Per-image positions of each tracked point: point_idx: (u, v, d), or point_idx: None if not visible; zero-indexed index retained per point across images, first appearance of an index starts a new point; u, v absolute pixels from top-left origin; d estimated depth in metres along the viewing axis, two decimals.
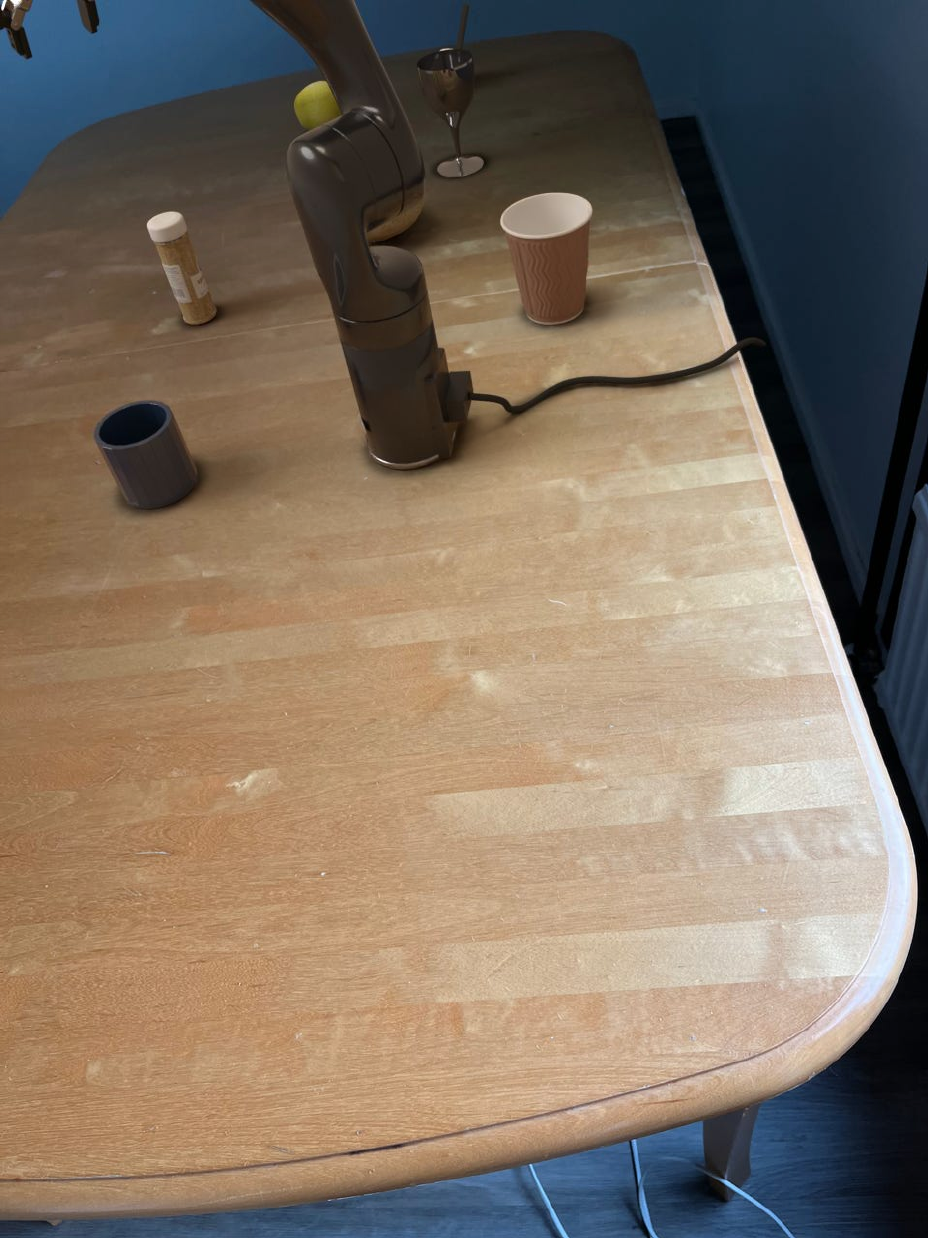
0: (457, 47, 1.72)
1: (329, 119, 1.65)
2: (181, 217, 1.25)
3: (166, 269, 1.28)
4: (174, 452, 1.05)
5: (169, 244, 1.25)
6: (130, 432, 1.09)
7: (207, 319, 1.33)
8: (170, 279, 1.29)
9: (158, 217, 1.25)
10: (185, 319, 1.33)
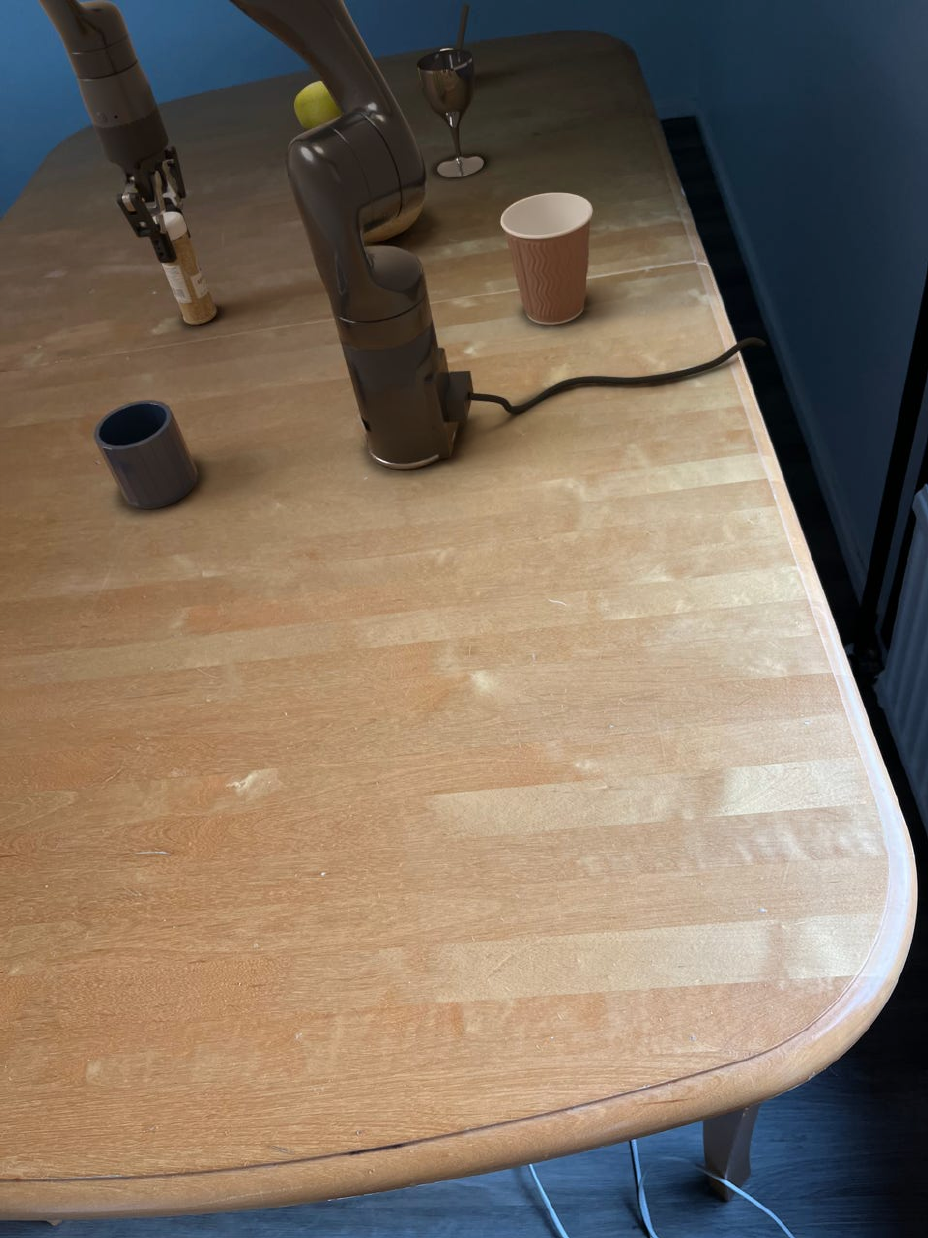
0: (457, 47, 1.72)
1: (329, 119, 1.65)
2: (181, 217, 1.25)
3: (166, 269, 1.28)
4: (174, 452, 1.05)
5: None
6: (130, 432, 1.09)
7: (207, 319, 1.33)
8: (170, 279, 1.29)
9: None
10: (185, 319, 1.33)
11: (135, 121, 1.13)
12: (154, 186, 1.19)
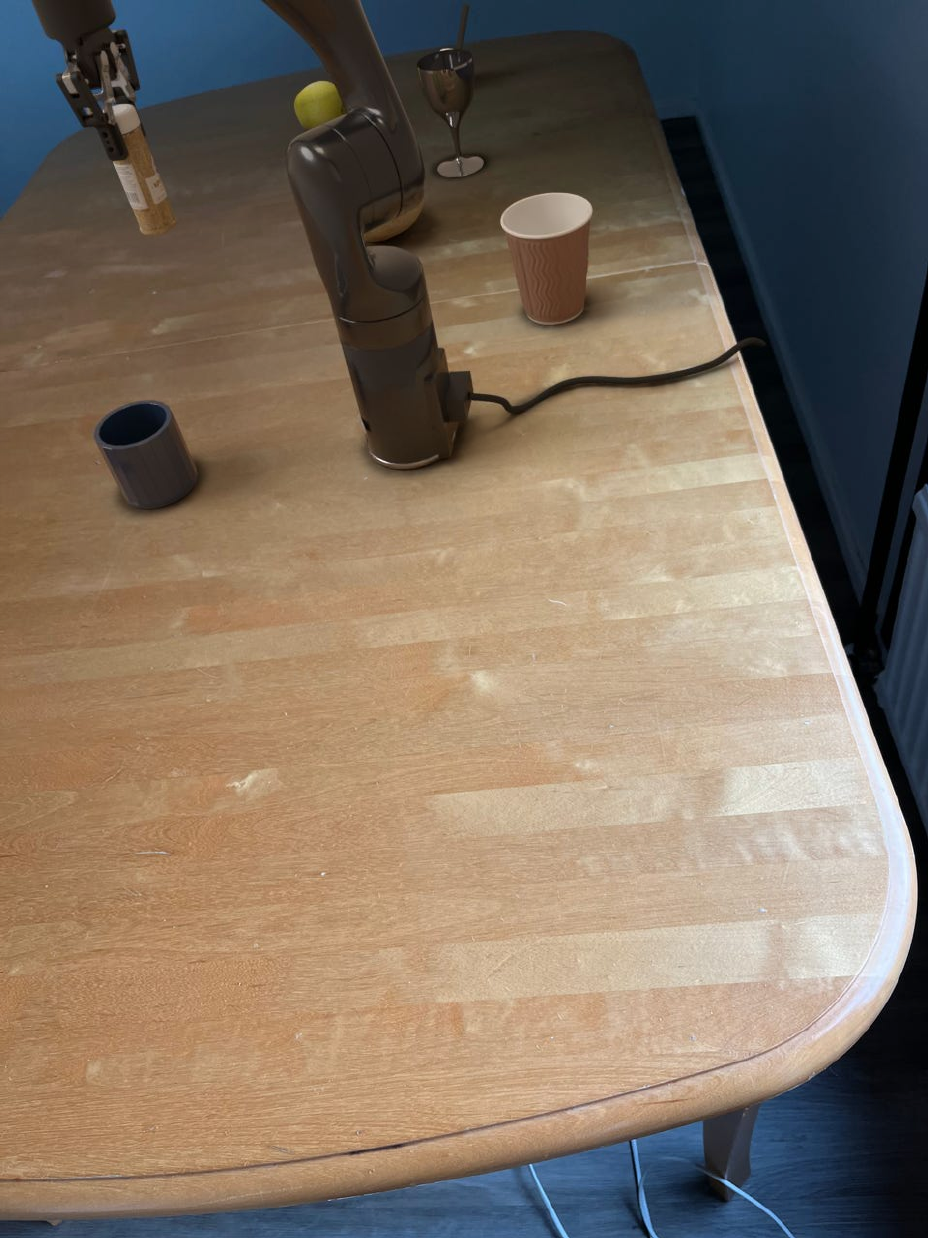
0: (457, 47, 1.72)
1: (329, 119, 1.65)
2: (133, 108, 1.12)
3: (118, 169, 1.15)
4: (174, 452, 1.05)
5: None
6: (130, 432, 1.09)
7: (166, 229, 1.20)
8: (123, 181, 1.16)
9: None
10: (142, 229, 1.20)
11: None
12: (100, 68, 1.06)
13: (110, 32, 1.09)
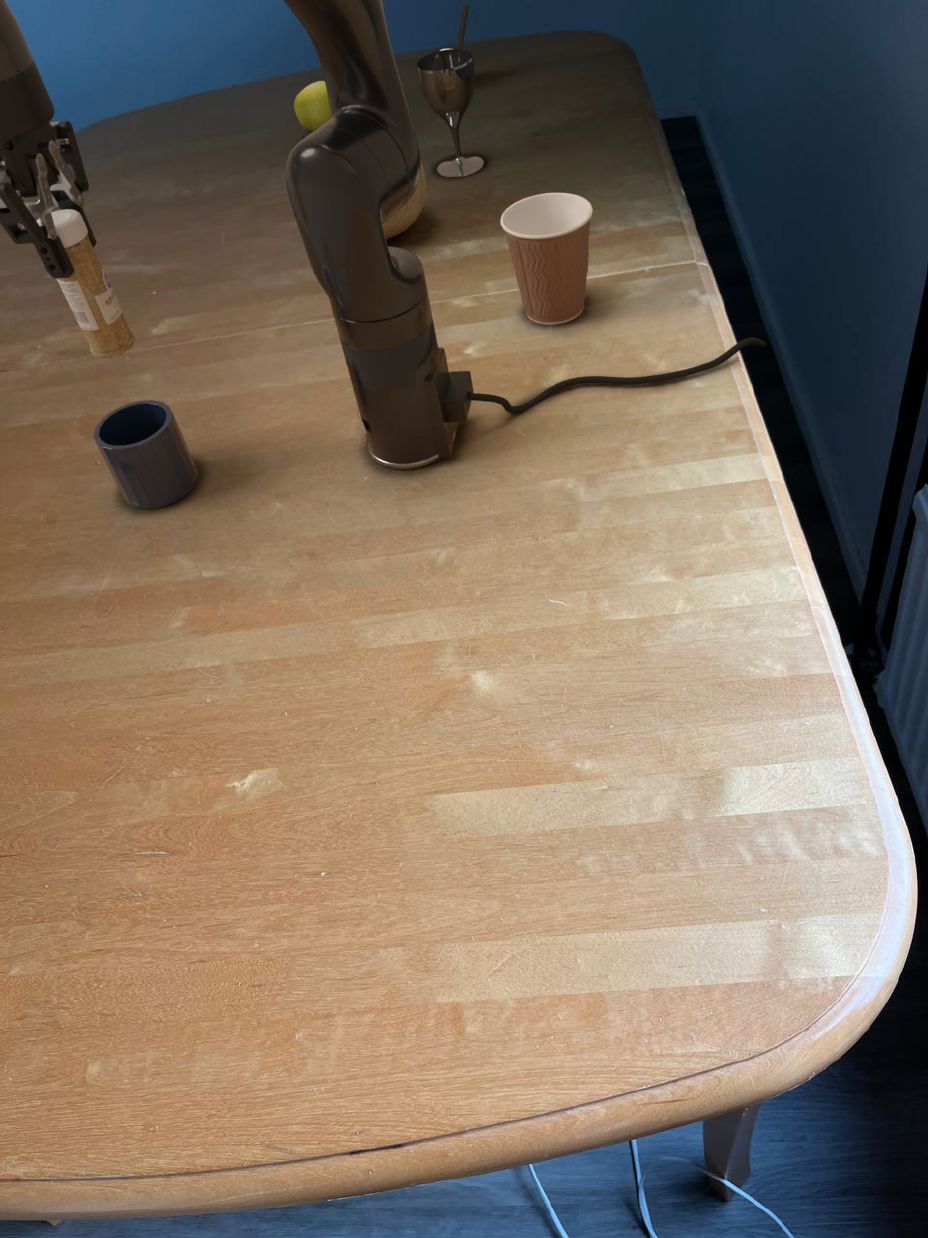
0: (457, 47, 1.72)
1: (329, 119, 1.65)
2: (78, 217, 0.93)
3: (62, 286, 0.96)
4: (174, 452, 1.05)
5: None
6: (130, 432, 1.09)
7: (121, 351, 1.01)
8: (68, 299, 0.97)
9: None
10: (92, 351, 1.01)
11: (0, 83, 0.81)
12: (36, 174, 0.87)
13: (49, 127, 0.90)
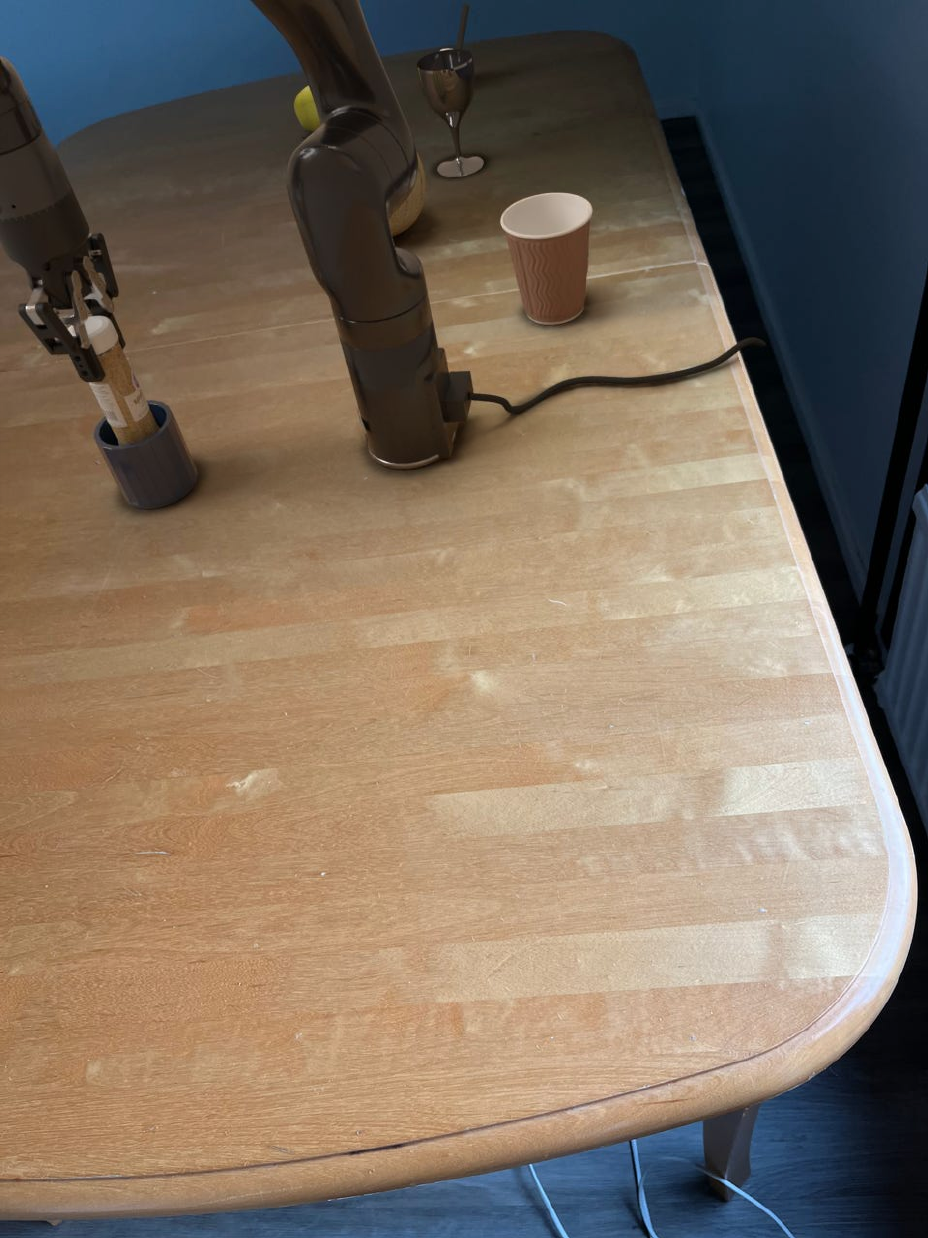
0: (457, 47, 1.72)
1: None
2: (109, 325, 0.97)
3: (92, 388, 1.00)
4: (174, 452, 1.05)
5: None
6: None
7: None
8: (98, 399, 1.01)
9: None
10: (120, 445, 1.05)
11: (40, 211, 0.85)
12: (71, 290, 0.91)
13: None
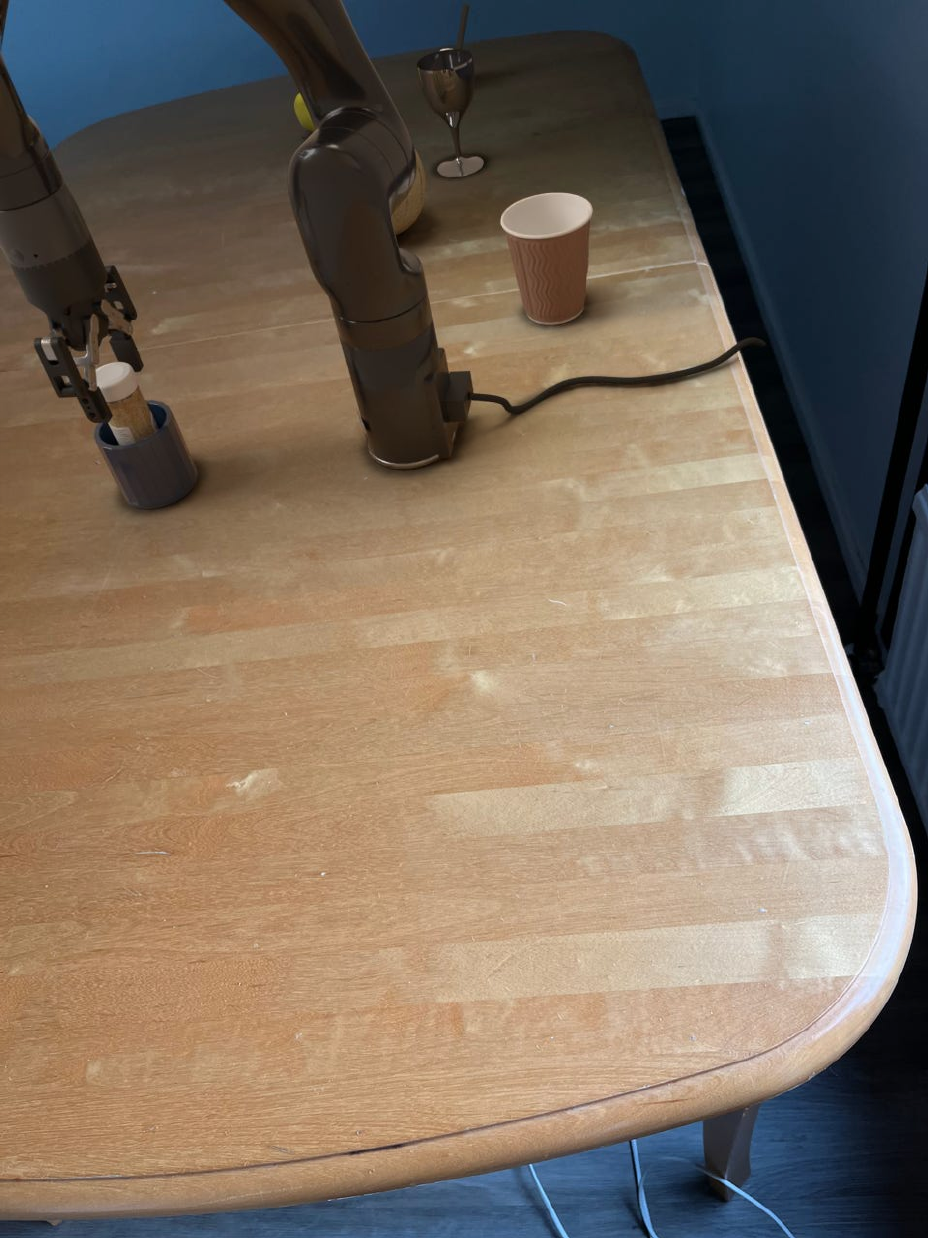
0: (457, 47, 1.72)
1: None
2: (130, 371, 1.00)
3: (113, 431, 1.03)
4: (174, 452, 1.05)
5: (115, 404, 1.00)
6: None
7: None
8: (119, 441, 1.04)
9: (102, 370, 1.01)
10: None
11: (61, 260, 0.88)
12: (87, 331, 0.94)
13: None
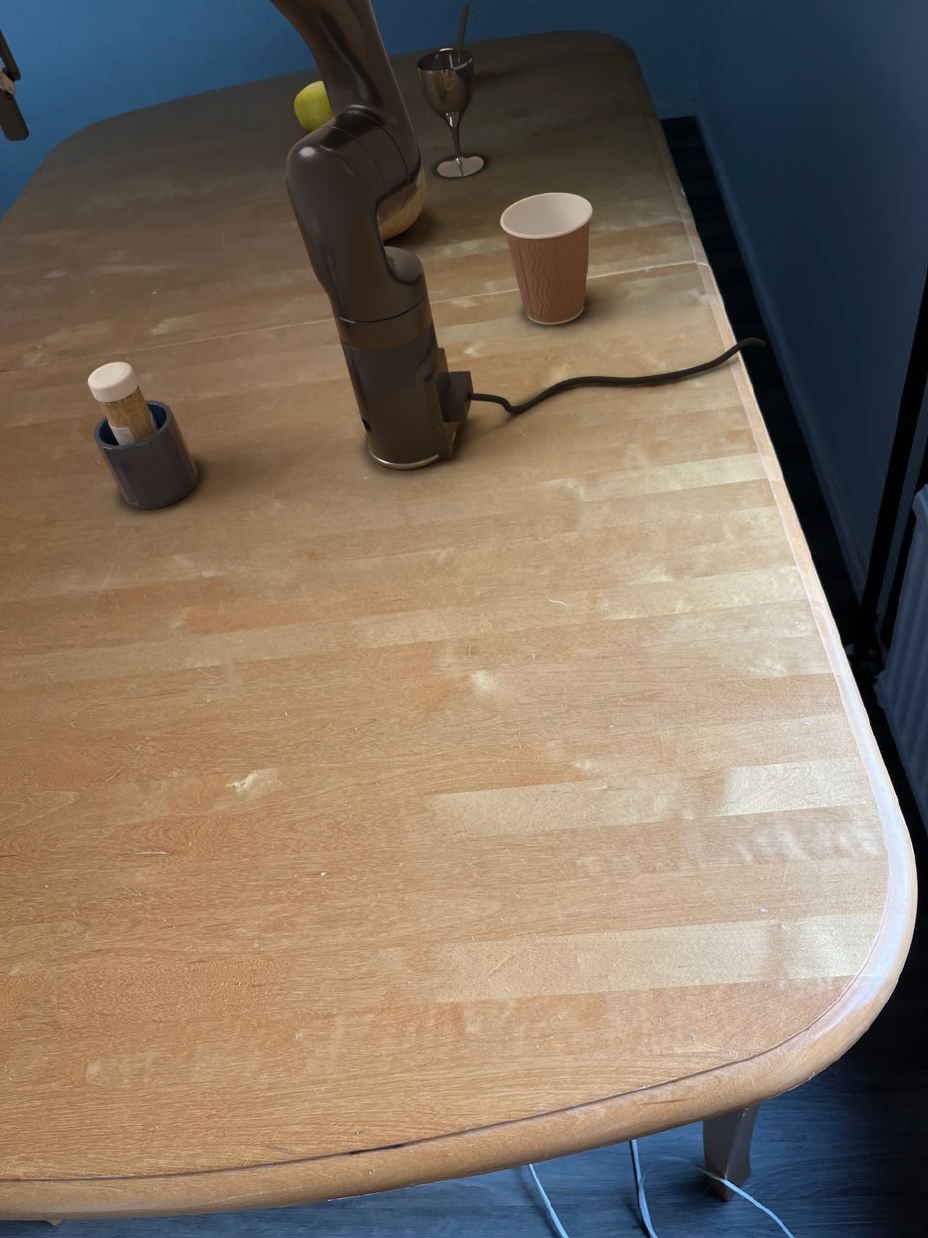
0: (457, 47, 1.72)
1: (329, 119, 1.65)
2: (130, 371, 1.00)
3: (113, 431, 1.03)
4: (174, 452, 1.05)
5: (115, 404, 1.00)
6: None
7: None
8: (119, 441, 1.04)
9: (102, 370, 1.01)
10: None
11: None
12: None
13: None
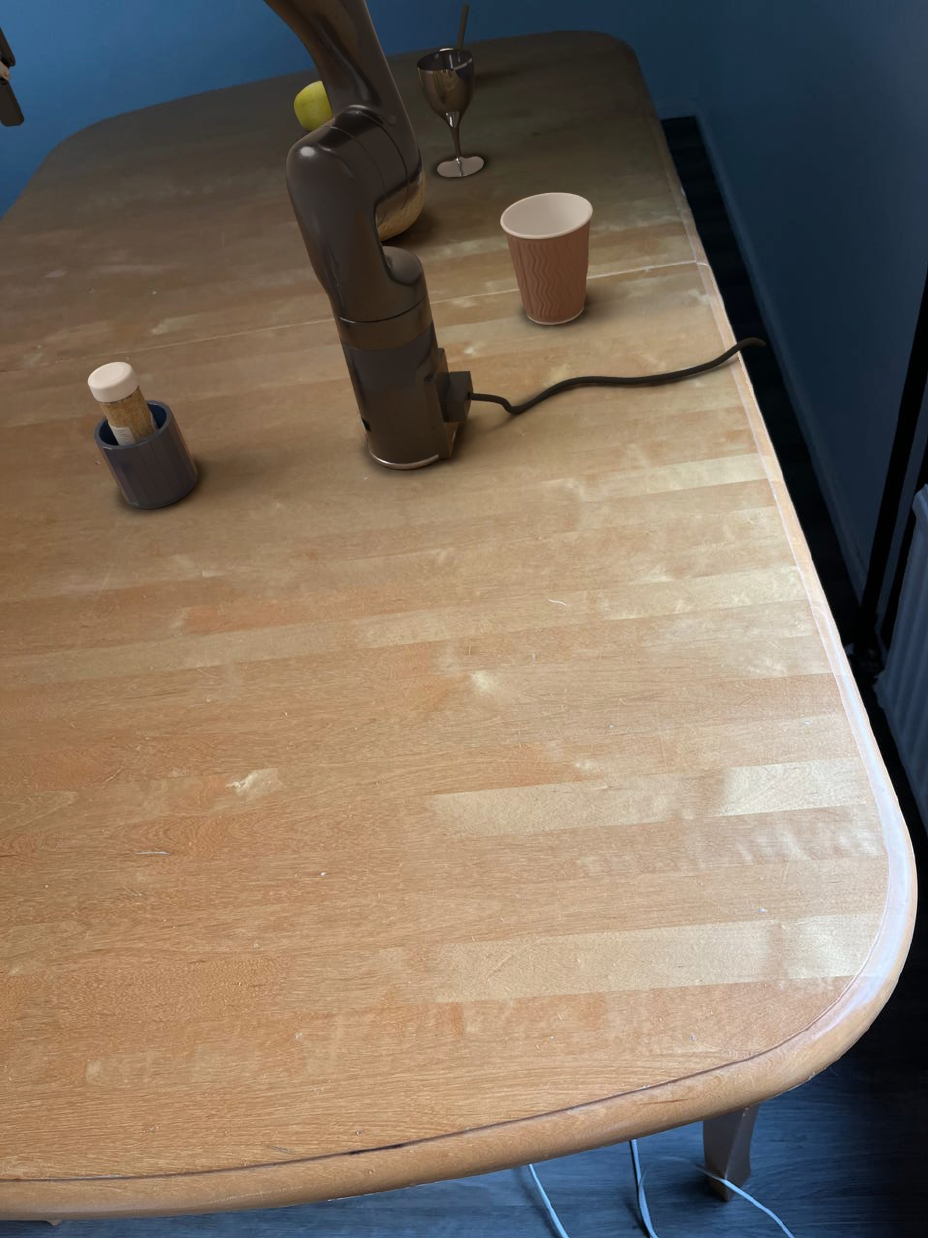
0: (457, 47, 1.72)
1: (329, 119, 1.65)
2: (130, 371, 1.00)
3: (113, 431, 1.03)
4: (174, 452, 1.05)
5: (115, 404, 1.00)
6: None
7: None
8: (119, 441, 1.04)
9: (102, 370, 1.01)
10: None
11: None
12: None
13: None
